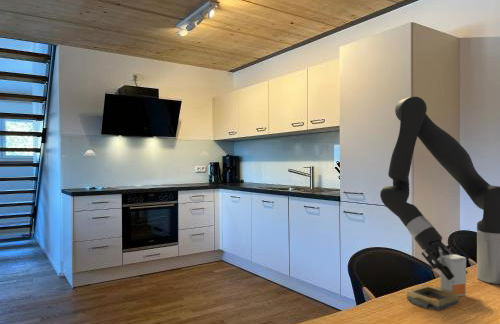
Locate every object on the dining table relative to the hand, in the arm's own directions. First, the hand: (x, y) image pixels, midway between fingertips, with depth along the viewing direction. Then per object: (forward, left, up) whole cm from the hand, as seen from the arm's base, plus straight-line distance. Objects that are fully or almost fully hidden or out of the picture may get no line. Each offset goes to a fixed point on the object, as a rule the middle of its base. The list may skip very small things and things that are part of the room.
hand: (458, 276), depth 113 cm
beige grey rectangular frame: (+11, -2, -6) cm, 13 cm away
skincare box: (0, -2, -6) cm, 6 cm away
